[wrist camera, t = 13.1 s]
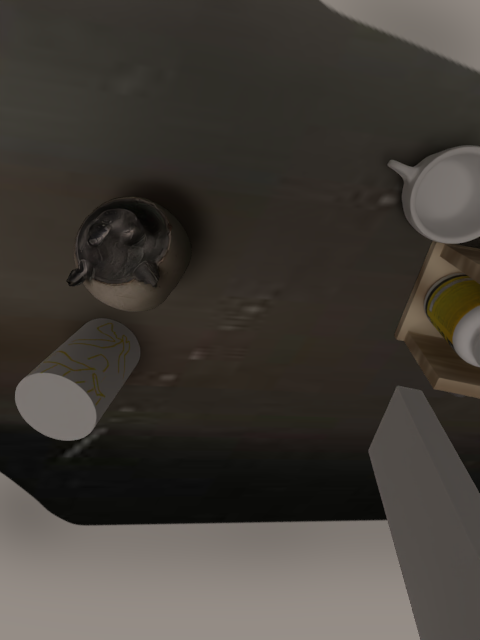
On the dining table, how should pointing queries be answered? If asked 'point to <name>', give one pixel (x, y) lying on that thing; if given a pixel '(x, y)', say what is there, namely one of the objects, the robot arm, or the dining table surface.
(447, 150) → the teacup
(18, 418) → the dining table surface
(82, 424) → the white cylinder
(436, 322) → the pill bottle
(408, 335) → the holder
